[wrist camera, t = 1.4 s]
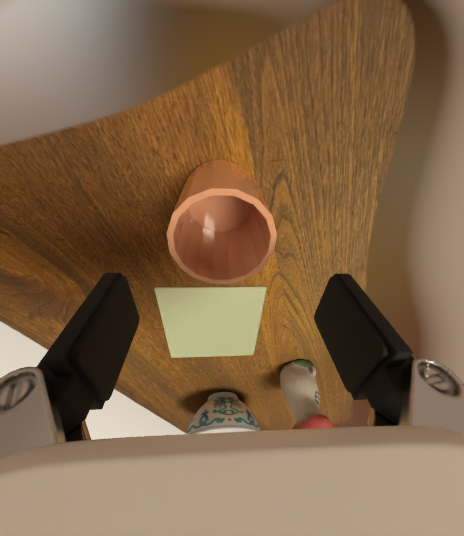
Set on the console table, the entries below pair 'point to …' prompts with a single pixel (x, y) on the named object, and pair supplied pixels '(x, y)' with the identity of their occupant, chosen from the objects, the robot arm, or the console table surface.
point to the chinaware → (223, 416)
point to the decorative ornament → (303, 395)
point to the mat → (211, 319)
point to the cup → (221, 225)
